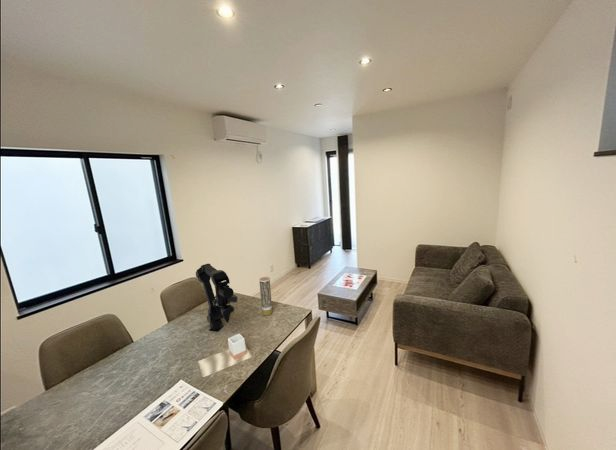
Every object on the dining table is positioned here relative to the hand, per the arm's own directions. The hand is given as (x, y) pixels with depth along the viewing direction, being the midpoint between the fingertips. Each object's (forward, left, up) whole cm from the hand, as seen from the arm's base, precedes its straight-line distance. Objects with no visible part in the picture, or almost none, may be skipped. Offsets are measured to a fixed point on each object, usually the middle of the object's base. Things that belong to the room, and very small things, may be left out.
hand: (224, 319), depth 145 cm
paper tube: (+12, +30, -13) cm, 35 cm away
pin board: (+9, -16, -13) cm, 22 cm away
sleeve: (+13, -12, -12) cm, 21 cm away
